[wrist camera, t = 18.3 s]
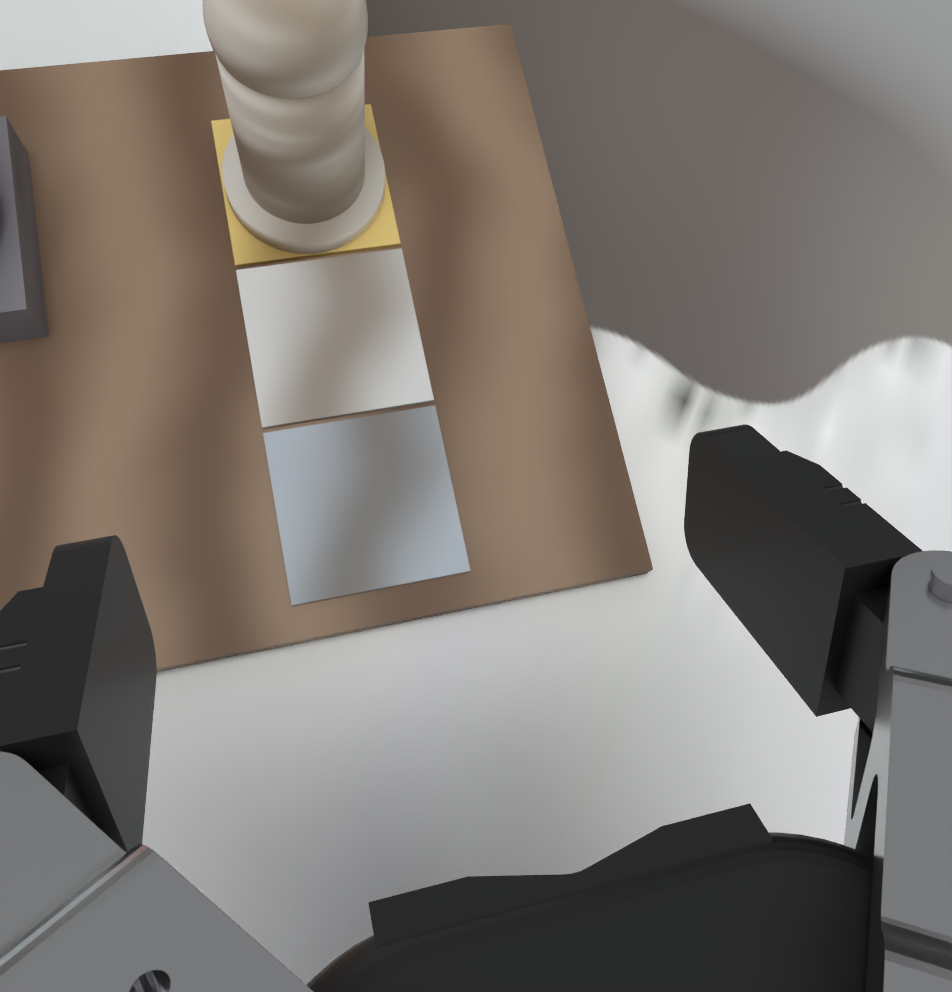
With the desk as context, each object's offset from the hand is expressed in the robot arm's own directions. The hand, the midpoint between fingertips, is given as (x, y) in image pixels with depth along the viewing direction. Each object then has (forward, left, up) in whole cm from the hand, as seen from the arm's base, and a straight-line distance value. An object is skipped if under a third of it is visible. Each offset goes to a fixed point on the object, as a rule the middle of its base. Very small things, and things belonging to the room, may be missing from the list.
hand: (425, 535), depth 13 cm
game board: (-4, +12, -17) cm, 21 cm away
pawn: (0, +17, -16) cm, 23 cm away
